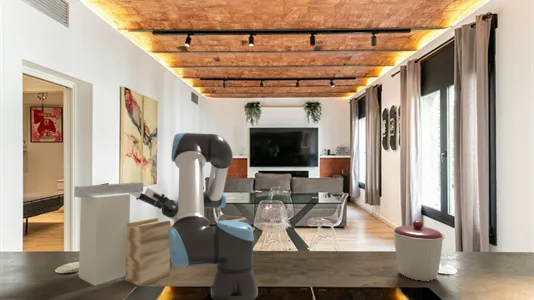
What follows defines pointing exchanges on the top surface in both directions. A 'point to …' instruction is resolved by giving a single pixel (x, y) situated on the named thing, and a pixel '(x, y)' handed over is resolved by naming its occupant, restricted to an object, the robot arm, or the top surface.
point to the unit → (103, 237)
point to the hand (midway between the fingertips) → (136, 189)
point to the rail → (107, 189)
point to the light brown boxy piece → (147, 251)
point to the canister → (418, 251)
